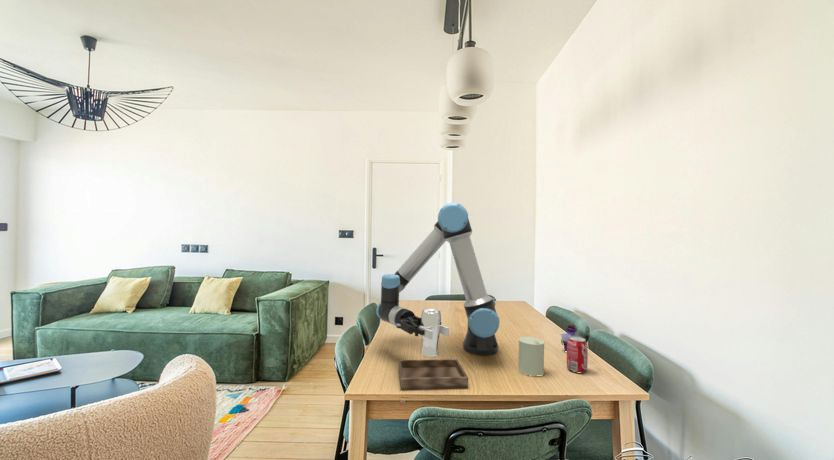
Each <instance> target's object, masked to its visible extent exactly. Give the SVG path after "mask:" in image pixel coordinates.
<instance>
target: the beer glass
mask: <svg viewBox="0 0 834 460" xmlns="http://www.w3.org/2000/svg"><path fill="white" fill-rule="evenodd" d="M420 318H421V326H422V327H424V328H427V329H429V330H432V331H433V339H428V338H426V337H424V336H422V335H421V337H422V338H421V339H422V348H421V356H423V357H424V358H425V357H426V358H437V357H438V356H439V338H440V334H441V333H440V329H441V325H442V313H441V310H439V309H435V308H425V309H422V310H421V316H420Z"/></svg>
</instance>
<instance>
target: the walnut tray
mask: <svg viewBox="0 0 834 460" xmlns="http://www.w3.org/2000/svg"><path fill="white" fill-rule="evenodd" d="M397 369H398V377H399V387H400V391H417V390H418V391H421V390H424V391H425V390H427V391H428V390H458V389H459V390H461V389H465V390H466V389H469V376H468V375H467V373H466V372H465V369H464V368H463V367H462V365H461V363H460V361H459V360H458V358H454V359H451V358H449V359H446V358H445V359H444V358H443V359H442V358H441V359H401V360H400V359H399V360H398V368H397Z"/></svg>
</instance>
